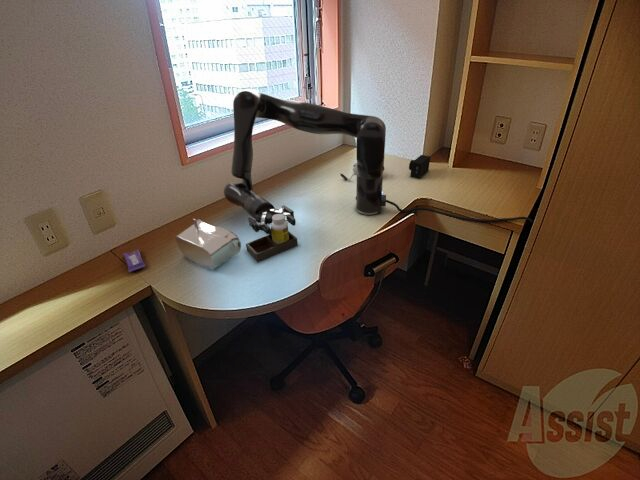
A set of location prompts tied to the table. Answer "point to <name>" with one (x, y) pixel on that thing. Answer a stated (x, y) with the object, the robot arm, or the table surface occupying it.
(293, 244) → the divided box
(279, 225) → the supplement bottle
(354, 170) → the clip-on lamp
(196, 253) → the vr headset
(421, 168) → the digital camera
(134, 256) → the snack package
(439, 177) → the table surface
